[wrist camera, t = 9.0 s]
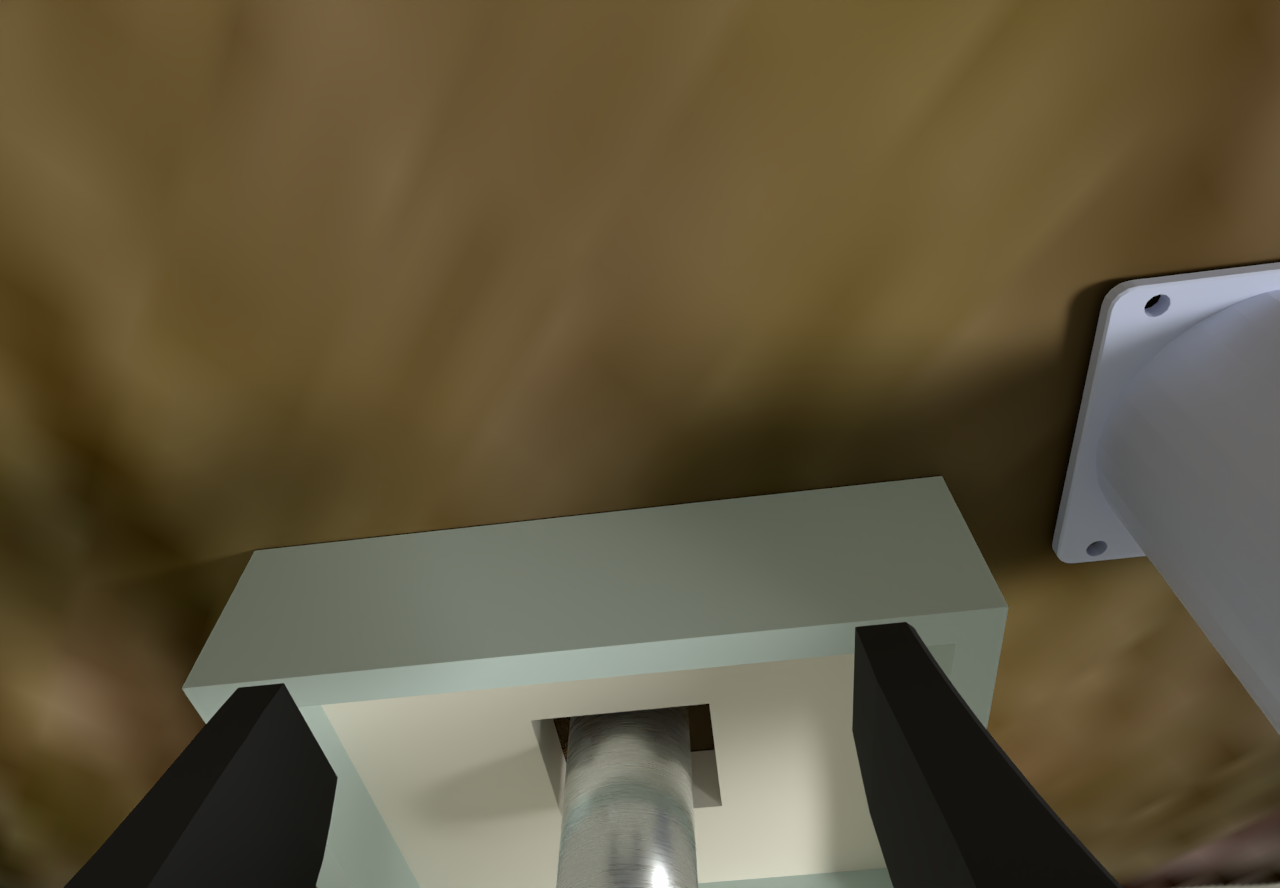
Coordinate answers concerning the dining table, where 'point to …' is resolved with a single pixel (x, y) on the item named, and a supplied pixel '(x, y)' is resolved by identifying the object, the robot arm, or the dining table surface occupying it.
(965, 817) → the robot arm
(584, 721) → the peg
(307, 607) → the caddy
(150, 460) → the dining table surface
